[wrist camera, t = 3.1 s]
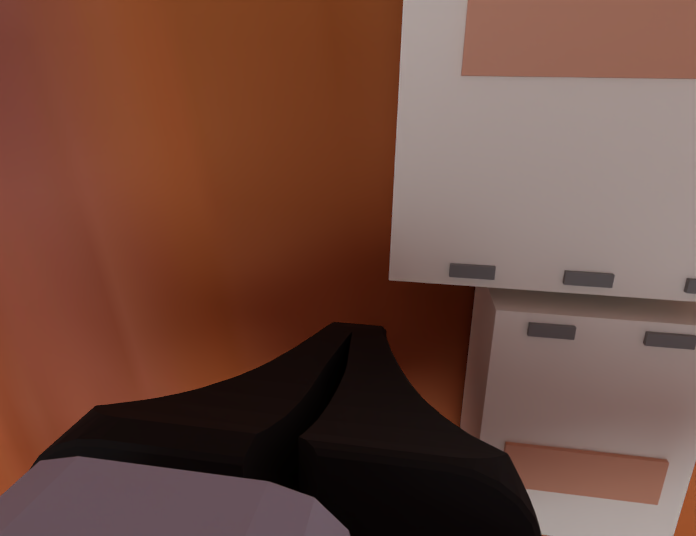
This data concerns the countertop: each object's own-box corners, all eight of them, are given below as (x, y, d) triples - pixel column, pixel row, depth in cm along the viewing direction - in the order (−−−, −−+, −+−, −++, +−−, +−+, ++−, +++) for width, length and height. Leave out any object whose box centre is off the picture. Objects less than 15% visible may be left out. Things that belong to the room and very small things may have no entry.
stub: (654, 274, 11) (738, 331, 8) (613, 453, 13) (671, 555, 10) (478, 262, 12) (497, 312, 9) (458, 436, 13) (469, 528, 10)
